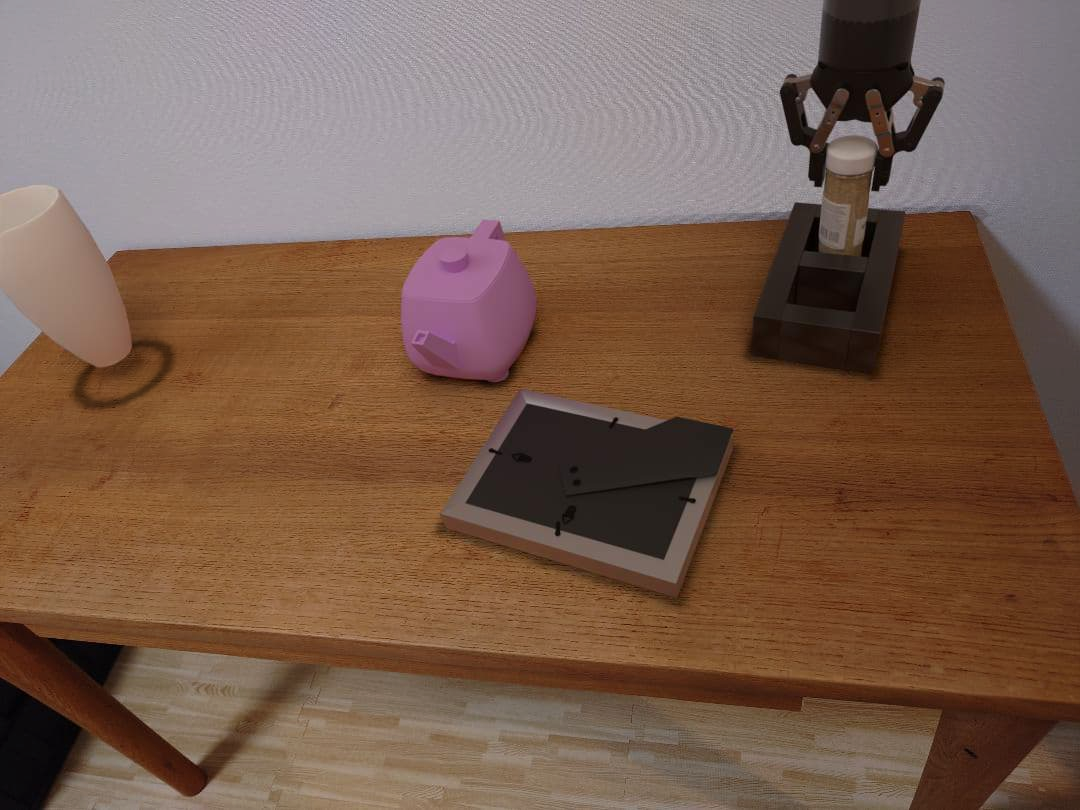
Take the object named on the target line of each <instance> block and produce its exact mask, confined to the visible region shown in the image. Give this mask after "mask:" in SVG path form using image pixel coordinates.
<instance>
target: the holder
mask: <svg viewBox="0 0 1080 810" xmlns="http://www.w3.org/2000/svg"><path fill="white" fill-rule="evenodd" d="M821 208H822V203H811V202H810V203H808V202H799V201H798V202H797V201H795V202H794V203H793V206H792V209H791V211H790V214H789V216H788V219H787V223H786V225H785V228H784V231H783V232H782V233H783V234H782V236H781V239H780V242H779V244H778V247H777V250H776V253H775V256H774V257H773V261H772V264H771V266H770V268H769V269H770V270H769V272H768V275H767V278H766V280H765V283H764V286H763V288H762V291H761V295H760V296H759V299H758V302H757V305H756V308H755V310H754V313H753V316H752V336H751V356H753V357H758V358H766V359H772V360H779V361H784V362H785V361H786V362H793V363H798V364H805V365H812V366H818V367H823V368H830V369H831V368H832V369H837V370H844V371H851V372H852V371H853V372H858V373H863V374H864V373H865V374H871V375H873V374H874V372H875V368H876V363H877V362H876V361H877V359H878V352H879V348H880V344H881V343H880V342H881V339H882V338H881V337H882V333H883V328H884V323H885V319H886V314H887V309H888V303H889V300H890V299H889V298H890V295H891V290H892V284H893V279H894V275H895V269H896V264H897V261H898V255H899V249H900V245H901V239H902V234H903V228H904V223H905V218H906V213H907V212H906V211H905V210H894V209H882V208H871V207H868V212H867V219H866V227H865V234H864V239H863V244H862V252H861V257H860V256H850V255H840V254H831V253H821V252H818V247H819V228H820V217H821Z"/></svg>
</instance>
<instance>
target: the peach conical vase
mask: <svg viewBox="0 0 1080 810" xmlns="http://www.w3.org/2000/svg"><path fill="white" fill-rule="evenodd" d="M0 291H1V292H2V293H3V294H4V295H5V296H6V298H7V299H8V300H9V301H10V302H11V303H12V304H13V306H14V307H15V308H16V309H17V310H18V312H19V313H20V314H21V315H22V316H24V318H26V319H27V320H29V321H30V322H31V323H32V324H34V326H35V327H37V328H38V329H39V330H40V331H42V332H43V333H44V334H45V335H46V336H47V337H48V338H49V339H51V340H52V341H53V342H55V343H56V344H58V345H59V346H60V347H62V348H63V349H65V350H67V351H68V352H69V353H70V354H73V355H74V356H76V357H77V358H79V359H81V360H82V361H84V362H86V363H88V364H90V365H92V366H94V367H96V368H107V367H110V366H113V365H115V364H117V363H120V362H121V361H122V360H124V359H125V358H126V357H127V356H128V355H129V354H130V353H131V350H132V349H133V348H132V347H133V345H132V344H133V343H132V334H131V328H130V323H129V320H128V315H127V311H126V307H125V304H124V301H123V298H122V296H121V293H120V290H119V288H118V285H117V282H116V280H115V277H114V275H113V272H112V269H111V267H110V265H109V263H108V261H107V259H106V257H105V256H104V254H103V253H102V251H101V249H100V247H99V246H98V244H97V243H96V240H95V239H94V237H93V236H92V234H91V232H90V229H88V227H87V226H86V224H85V223H84V222H83V220H82V219H81V217H80V216H79V214H78V213H77V212H76V210H75V209H74V207H73V206H72V205H71V203H70V201H69V200H68V198H67V197H66V196H65V194H64V193H63V192H62V190H61V189H59V188H58V187H57V188H56V187H55V186H51V185H50V184H32V185H27V186H23V187H19V188H15V189H12V190H10V191H7V192H4V193H1V194H0Z"/></svg>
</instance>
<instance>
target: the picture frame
mask: <svg viewBox="0 0 1080 810" xmlns="http://www.w3.org/2000/svg"><path fill="white" fill-rule="evenodd" d="M733 432H734V428H733V427H730V426H729V427H728V426H724V425H718V424H714V423H709V422H705V421H700V420H695V419H690V418H686V417H681V416H674V417H671V418H669V419H663V418H658V417H654V416H649V415H646V414H645V415H644V414H641V413H635V412H631V411H627V410H626V411H625V410H622V409H618V408H617V409H616V408H611V407H607V406H603V405H598V404H593V403H590V402H589V403H588V402H584V401H581V400H580V401H579V400H574V399H570V398H565V397H560V396H556V395H551V394H547V393H543V392H542V393H541V392H537V391H532V390H528V389H524V388H519V389H518V391H517V392H516V393H515V394H514V397H513V399H512V400H511V402H510V403H509V404H508V406H507V408H506V410H505V411H504V412H503V414H502V415H501V417H500V419H499V420H498V421H497V423H496V425H495V426H494V428H493V429H492V431H491V433H490V434H489V436H488V437H487V438H486V440H485V442H484V444H483V445H482V447H481V449H480V450H479V452H478V453H477V455H476V456H475V458H474V459H473V461H472V462H471V464H470V466H469V467H468V469H467V471H466V472H465V474H464V476H463V477H462V478H461V480H460V482H459V483H458V484H457V486H456V488H455V489H454V491H453V493H452V494H451V496H450V497H449V498H448V500H447V502H446V504H445V505H444V507H443V508H442V509H441V511H440V513H439V514H440V518H441V520H442V522H443V526H444V527H445V529H448V530H451V531H453V532H458V533H461V534H464V535H468V536H471V537H475V538H477V539H480V540H484V541H488V542H491V543H493V544H496V545H500V546H503V547H507V548H511V549H514V550H517V551H519V552H523V553H526V554H530V555H533V556H536V557H540V558H543V559H546V560H548V561H549V560H550V561H553V562H557V563H560V564H562V565H566V566H569V567H572V568H576V569H579V570H582V571H586V572H590V573H592V574H595V575H599V576H602V577H606V578H608V579H613V580H616V581H619V582H622V583H626V584H629V585H631V586H635V587H637V588H638V587H639V588H642V589H645V590H648V591H651V592H655V593H657V594H661V595H665V596H668V597H671V598H675V599H678V597H679V594H680V592H681V589H682V587H683V584H684V581H685V579H686V576H687V573H688V570H689V568H690V565H691V562H692V560H693V557H694V554H695V552H696V549H697V546H698V543H699V541H700V539H701V535H702V533H703V530H704V528H705V525H706V522H707V520H708V517H709V514H710V511H711V510H712V506H713V504H714V501H715V498H716V496H717V494H718V491H719V487H720V485H721V483H722V480H723V477H724V474H725V472H726V469H727V466H728V463H729V462H730V458H731V456H732V454H733V453H732V452H733V449H734V434H733Z"/></svg>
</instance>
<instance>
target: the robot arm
mask: <svg viewBox="0 0 1080 810" xmlns="http://www.w3.org/2000/svg"><path fill="white" fill-rule="evenodd" d="M921 2H922V0H822V9H821V10H822V11H821V21H820V32H819V44H818V45H819V46H818V55H817V57H818V58H817V64H816V65H815V67H814V68H813V70H812V73H809V74H804V75H801V76H797V74H795V73H789V74H787V75H786V76H785V78H784V80H783V83H782V85H781V86H780V90H779V96H780V100H781V105H782V109H783V115H784V119H785V121H786V127H787V131H788V135H789V140H790V143H791V145H793V146H795V147H800V146H802V147H805V148H806V149H807V150H808V151H809V159H808V171H807V177H808V180H809V182H813V187H814V188H822V187H823V185H824V183H825V175H826V169H825V168H826V166H825V156H826V149H827V146H828V144H829V143H830V142H827V141H828V139H829V137H830V135H832V132H833V130H834V128H835V126H836V124H837V122H850V121H859V122H862V123H871V126H872V130H873V135H874V136H875V137H876V141H877V142H876V143H877V146H878V152H877V156H876V162H875V167H874V169H873V174H872V181H871V187H870V192H878V193H879V192H880V189H881V187H886V186H887V185H888V184H889V182H890V177H891V173H892V167H893V162H894V161H893V160H894V156H895V155H896V154H897V153H900V152H906V153H913V152H914V151H916V149H917V147H918V145H919V144H920V142H921V140H922V137H923V136H924V134H925V132H926V130H927V128H928V126H929V124H930V123H931V120H932V118H933V116H934V114H935V113H936V110H937V109H938V107H939V105H940V103H941V101H942V98H943V95H944V92H945V84H946V82H945V79H944V78H942V76H941V77H940V76H936V77H934V78H932V79H928V78H924V77H920V76H917V75H916V74H915V70H914V68H913V66H912V55H913V51H914V50H913V49H914V45H915V38H916V33H917V32H916V31H917V28H918V27H917V26H918V21H919V14H920V8H921ZM810 89H812V91H813V92H814V93H815V96H816V97H817V98H818V100H819V101H820V103H821V104H822V106H823V107H824V109H825V110H824V112H823V114H822V117H821V119H820V121H819V123H818V124H817V128H813V127H812V126H809V122H808V118H807V113H806V108H805V104H804V102H805V101H806V99H807V96H808V94H809V90H810ZM909 91H910V92H911V93H912V94H913V98H912V103H913V105H914V106H915V107H916V109H915V112H914V113H913V115H912V117H911V119H910V122H909V123H908V126H907V127H906V129H905V130H902V131H898V132H897V129H896V124H895V119H894V118H895V116H894V115H895V114H894V110H893V108H894V106H895V105H896V104H897V103H898V102H899V101H900V100H901V99H902V98H903V97H904V96H905V95H907V93H909Z"/></svg>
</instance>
